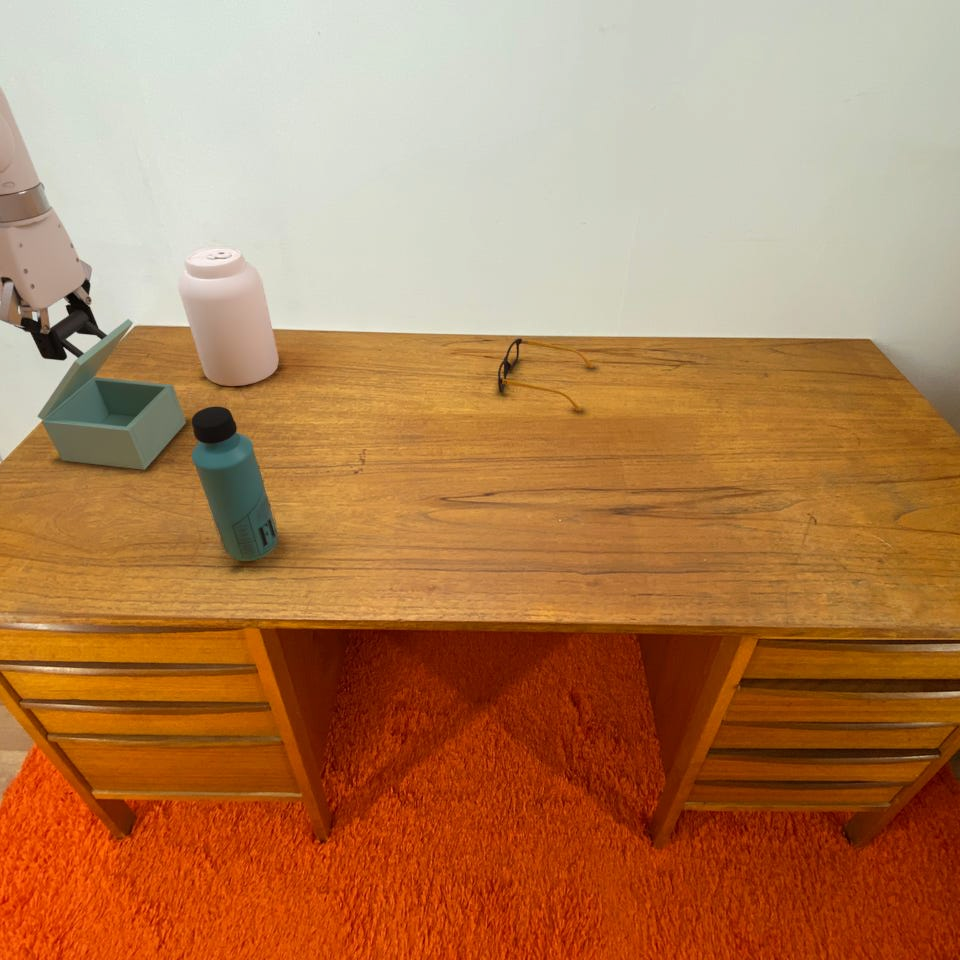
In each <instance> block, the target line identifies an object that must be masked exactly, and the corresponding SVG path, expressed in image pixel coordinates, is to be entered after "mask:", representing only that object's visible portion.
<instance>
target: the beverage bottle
mask: <svg viewBox="0 0 960 960" xmlns="http://www.w3.org/2000/svg"><path fill="white" fill-rule="evenodd" d="M191 424H192V429H193V435H194V437H195V440H196V441H198V443H197V444H196V445H195V446H194V448H193V449H192V452H191V461H192V463H193V465H194V467H195V470H196V473H197V475H198V478H199V481H200V483H201V487H202V489H203V492H204V495H205V498H206V501H207V507H208V508H209V511H210V512H209V514H210V517H212V518H211V519H212V521H213V525H214V526H215V527H216V528H215V530H216V531H217V533H218V538H219V539H220V541H221V544H222V549H223V551H225V553H226V554H227V555H228V556H229V557H231V558H232V559H233V560H237V561H240V562H251V561H252V562H253V561H256V560H259V559H262V558H264V557H266V556H268V555H269V554H270V553H271V552H272V551H274V549H275V548H276V546H277V544H278V540H279V533H278V529H277V528H278V527H277V521H276V517H275V515H274V513H273V512H274V511H273V509H272V508H271V501H270V498H269V496H268V495H267V490H266V487H265V484H264V483H265V482H266V481H265V480H264V479H263V474H262V472H261V468H260V464H259V463H258V460H257V457H256V453H255V450H254V445H253V442H252V440H251V439H250V438H249V437H248V436H246V435H244V434H242V433H239V432H237V431H238V426H237V423H236V420H235V419H234V417H233V414H232V412H231V410H229V409H228V408H226V407H224V406H218V405H217V406H210V407H209V406H208V407H205V408H202V409H200V410H198V411H196V413H195V414H193V416H192V418H191Z"/></svg>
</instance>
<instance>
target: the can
mask: <svg viewBox="0 0 960 960" xmlns="http://www.w3.org/2000/svg"><path fill="white" fill-rule="evenodd" d="M184 266H185V269H184V270H183V272H182V273H181V274H180V276H179V278H178V293H179V296H180V298H181V302H182V304H183V309H184V312H185V315H186V319H187V322H188V324H189V329H190V332H191V335H192V338H193V342H194V345H195V348H196V352H197V355H198V357H199V361H200V365H201V367H202V371H203V374H204V376H205V377H206V378H207V379H208V380H209V381H210V382H212V383H214V384H217V385H220V386H228V387H236V386H237V387H238V386H240V387H241V386H247V385H251V384H255V383H257V382H261V381H263V380H266V379H267V378H269V377H270V376H271V375H273V374H274V373H275V371H276V370H277V369H278V366H279V360H280V358H279V353H278V349H277V344H276V343H277V342H276V339H275V335H274V334H275V333H274V329H273V326H272V320H271V315H270V311H269V307H268V301H267V297H266V292H265V287H264V283H263V279H262V278H261V276H260V274H259V272H258V269H257V268H256V267H255V266H254V265H252V264H250V263H249V262H247V261H246V259H245V257H244V255H243V253H242V252H241V251H240V249H237V248H235V247H231V246H221V245H219V246H216V245H215V246H208V247H203V248H199V249H196V250H194V251H192V252H190V253H188V254H187V255H186V257H185V259H184Z"/></svg>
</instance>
